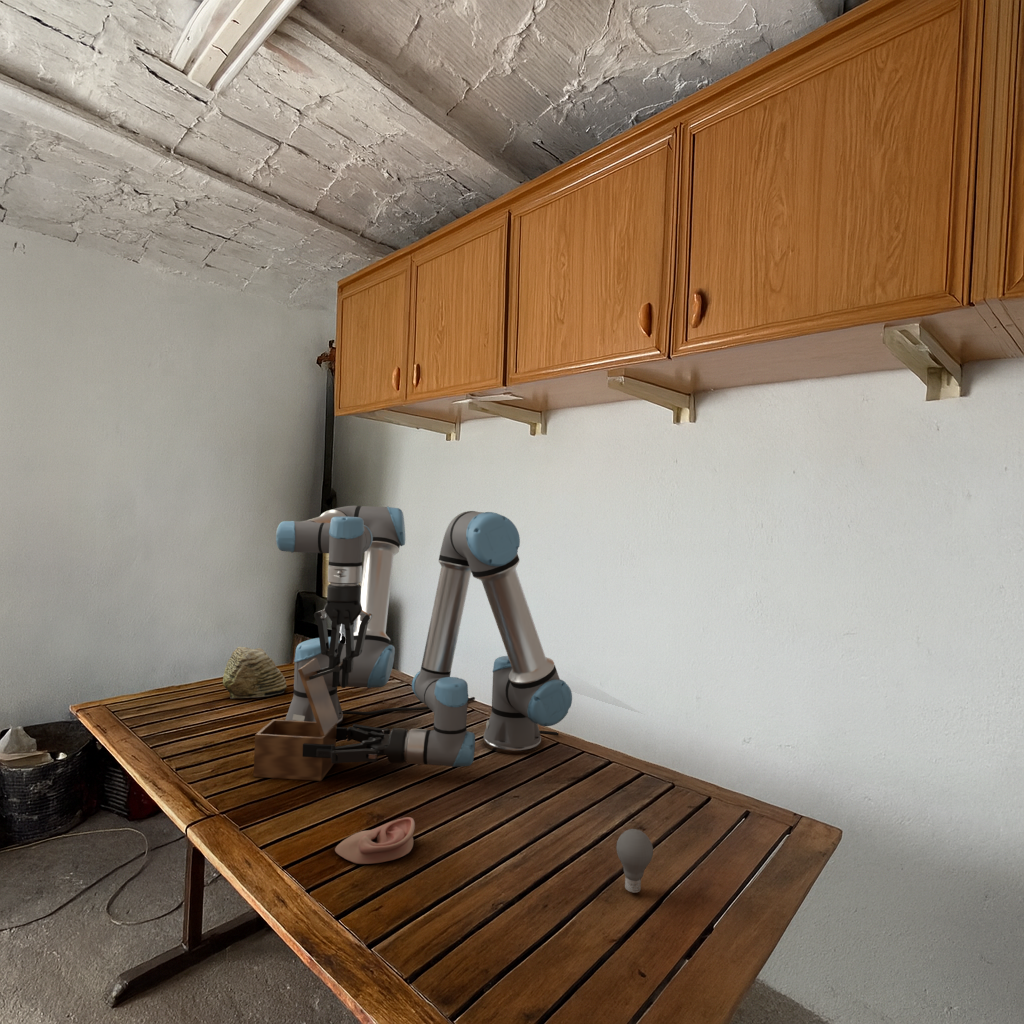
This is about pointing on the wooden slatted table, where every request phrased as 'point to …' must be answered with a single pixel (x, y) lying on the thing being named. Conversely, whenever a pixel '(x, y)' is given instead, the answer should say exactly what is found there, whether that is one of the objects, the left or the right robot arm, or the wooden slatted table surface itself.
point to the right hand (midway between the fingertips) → (311, 740)
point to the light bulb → (634, 857)
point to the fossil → (252, 674)
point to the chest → (291, 750)
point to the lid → (319, 694)
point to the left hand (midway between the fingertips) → (340, 685)
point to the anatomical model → (379, 843)
